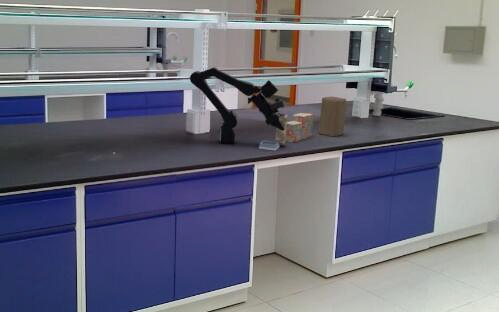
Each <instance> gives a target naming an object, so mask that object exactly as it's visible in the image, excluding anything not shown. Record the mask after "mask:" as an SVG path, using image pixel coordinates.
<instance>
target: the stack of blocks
mask: <svg viewBox="0 0 499 312" xmlns="http://www.w3.org/2000/svg"><path fill="white" fill-rule="evenodd" d="M291 119H292V120H291V121H287V127H286V139H285V142H287V143H296V142H299V141H302V140H304V139H308V138H311V137H313V126H314V114H313V113H307V112H300V113H296V114H292V118H291Z"/></svg>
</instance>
